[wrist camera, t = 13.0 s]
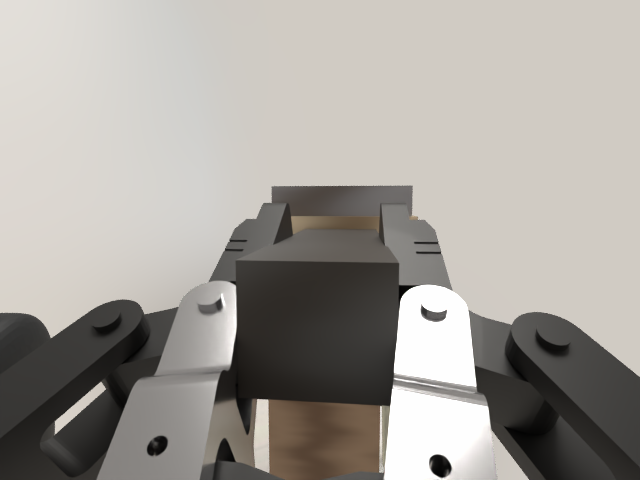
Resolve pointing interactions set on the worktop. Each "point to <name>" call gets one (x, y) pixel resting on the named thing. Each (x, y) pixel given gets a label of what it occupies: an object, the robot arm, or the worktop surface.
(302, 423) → the walnut stand
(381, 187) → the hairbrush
